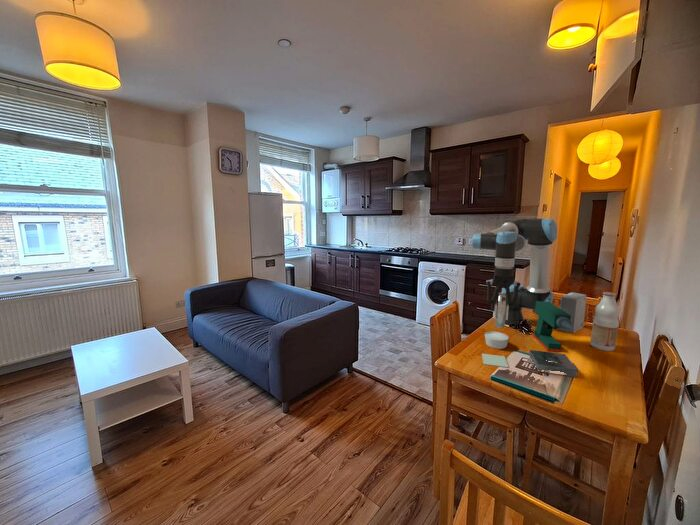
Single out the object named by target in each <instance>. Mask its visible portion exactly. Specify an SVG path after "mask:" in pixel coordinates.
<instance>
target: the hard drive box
mask: <svg viewBox="0 0 700 525" xmlns="http://www.w3.org/2000/svg"><path fill="white" fill-rule="evenodd" d="M586 302H587V294H583V293H578V292H574V291H573V292H572V291H571V292H569V293H567V294H564V295H562V296H561V298H560V306H559V308H560V309H561V310H563V311H564V312H566V313H568V314H569V315H571V320H570V321H571V327H572V328H573V330H572V329H561V328H557V330H559V331H562V332H566V333H569V334H574V333H575V332H576V333H577V331H579V330H581V329H582V328H584V324H585V316H586V315H585V314H586V305H587V304H586Z"/></svg>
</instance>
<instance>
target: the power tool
mask: <svg viewBox="0 0 700 525" xmlns="http://www.w3.org/2000/svg"><path fill="white" fill-rule="evenodd" d="M534 313H535V314H536V315H537V316H538V318H537V323H536V326H535V329H533V333H532V336H531V337H533V339H535V340H536V341H537V343H539V344H540V345H541V346H542V347H543V348H544V349H545V351H546V352H552V353H563V349H562V344H561V343H560V342H559V341H558V340H557V339H556V338H555V337H554V336H553V335H552V334H553V331H554V330H558V328H561V329H572V330H573V328H572V327H571V321H570V320H571V315H569V314H568V313H566V312H564V311H563V310H561V309H560V307H558V306H557V305H556V304H553V302H552V303H550V302H542V301H536V305H535V310H534Z"/></svg>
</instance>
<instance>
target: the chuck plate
mask: <svg viewBox="0 0 700 525" xmlns="http://www.w3.org/2000/svg"><path fill="white" fill-rule="evenodd" d="M529 356H530V357H529ZM528 357H529V359H530V358H531V359H532V361H533V362H534V364H535V366H536V368H537V370H551V371H560V372H564V373H566V374H567V375H569V376H571V378H577V375H578V368H577V367H576V366H575V365H574V363H573V362H572V360H570V358H569V357H568V356H567V354H565V353H561V352H553V351H541V350H534V349H529V354H528ZM531 359H530V360H531ZM546 360H547V361H546ZM532 361H531V362H532ZM548 361H556V362H558V363H555V362H548ZM536 368H535V369H536ZM537 370H536V371H537ZM569 376H568V377H569Z"/></svg>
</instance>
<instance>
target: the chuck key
mask: <svg viewBox="0 0 700 525" xmlns="http://www.w3.org/2000/svg"><path fill="white" fill-rule="evenodd" d="M496 304H497V311H496V319H494V327H496V328H498V329H504V328H505V327H506V324H505V318H506V305H507V294H505V293H501V292H499V293H498V296H497V299H496Z"/></svg>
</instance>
